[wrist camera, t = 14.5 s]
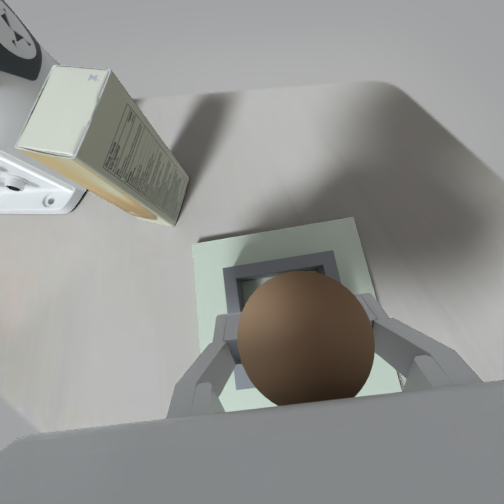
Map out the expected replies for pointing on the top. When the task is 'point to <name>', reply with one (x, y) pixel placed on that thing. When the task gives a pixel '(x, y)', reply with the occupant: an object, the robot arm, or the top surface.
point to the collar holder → (266, 267)
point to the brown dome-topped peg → (305, 339)
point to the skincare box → (104, 143)
